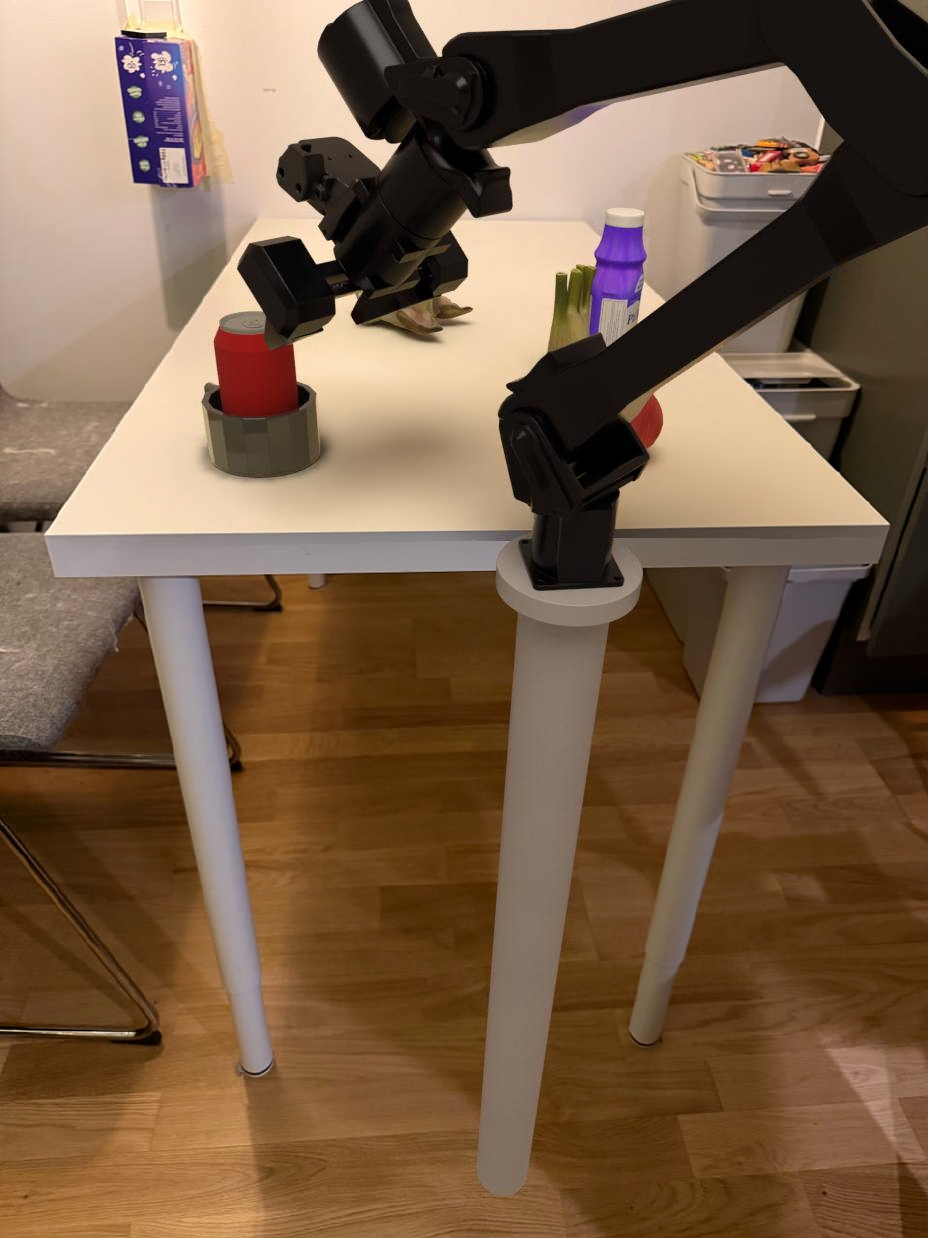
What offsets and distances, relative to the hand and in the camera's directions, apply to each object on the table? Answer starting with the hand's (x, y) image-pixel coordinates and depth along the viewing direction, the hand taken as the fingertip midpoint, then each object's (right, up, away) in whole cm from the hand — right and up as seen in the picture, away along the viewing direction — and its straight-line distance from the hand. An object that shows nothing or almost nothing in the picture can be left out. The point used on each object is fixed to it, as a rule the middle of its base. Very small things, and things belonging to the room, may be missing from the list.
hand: (313, 331), depth 71 cm
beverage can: (-6, -8, +11) cm, 15 cm away
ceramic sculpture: (+5, +15, +44) cm, 47 cm away
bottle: (+29, +6, +32) cm, 44 cm away
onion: (+27, -8, +12) cm, 31 cm away
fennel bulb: (+17, +27, +55) cm, 63 cm away
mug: (-8, -7, +12) cm, 16 cm away
